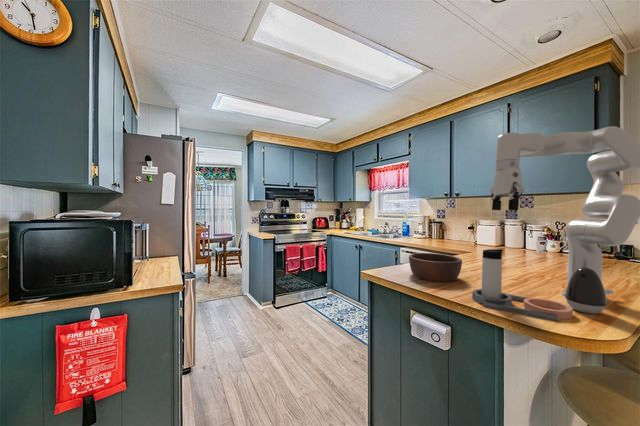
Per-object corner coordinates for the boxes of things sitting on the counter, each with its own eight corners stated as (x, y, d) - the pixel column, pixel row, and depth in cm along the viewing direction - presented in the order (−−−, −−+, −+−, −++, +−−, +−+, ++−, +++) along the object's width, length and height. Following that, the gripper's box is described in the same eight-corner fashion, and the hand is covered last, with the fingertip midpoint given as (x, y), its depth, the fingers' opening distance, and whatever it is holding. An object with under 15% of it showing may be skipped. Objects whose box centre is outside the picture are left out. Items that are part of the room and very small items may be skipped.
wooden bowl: (453, 272, 143) (454, 254, 142) (468, 286, 118) (469, 263, 118) (406, 269, 148) (406, 251, 148) (411, 281, 124) (411, 260, 124)
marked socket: (549, 305, 96) (550, 298, 95) (582, 319, 83) (583, 311, 83) (515, 304, 96) (515, 297, 96) (543, 318, 84) (543, 311, 84)
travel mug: (505, 304, 95) (506, 250, 95) (485, 303, 97) (486, 250, 96) (497, 298, 102) (498, 248, 101) (478, 297, 103) (479, 247, 102)
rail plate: (470, 303, 96) (470, 296, 96) (475, 292, 110) (475, 286, 109) (557, 321, 82) (558, 313, 82) (551, 305, 95) (551, 298, 95)
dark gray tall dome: (559, 308, 92) (560, 266, 92) (571, 303, 97) (572, 263, 97) (600, 319, 83) (602, 272, 83) (610, 313, 88) (612, 269, 88)
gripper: (534, 162, 91) (531, 210, 92) (502, 169, 109) (499, 210, 109) (512, 161, 92) (509, 209, 92) (484, 169, 109) (481, 209, 109)
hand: (504, 210), depth 100 cm, fingers open, 9 cm apart
